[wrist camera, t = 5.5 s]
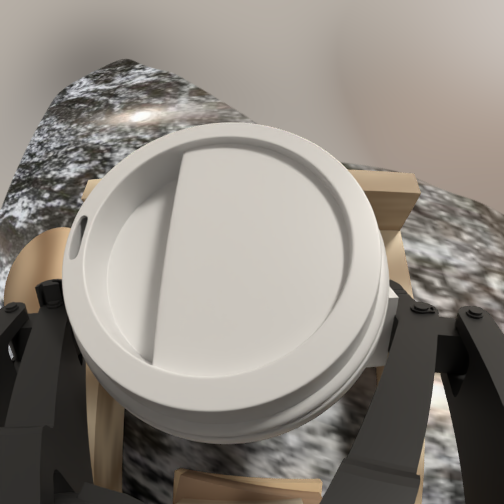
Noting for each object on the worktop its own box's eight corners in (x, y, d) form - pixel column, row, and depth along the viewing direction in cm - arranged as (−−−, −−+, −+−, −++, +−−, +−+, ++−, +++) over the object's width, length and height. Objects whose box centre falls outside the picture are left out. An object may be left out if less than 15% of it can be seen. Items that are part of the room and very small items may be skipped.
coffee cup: (215, 269, 24) (156, 92, 10) (340, 313, 21) (428, 155, 8) (157, 387, 20) (-10, 322, 6) (290, 445, 17) (338, 518, 4)
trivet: (80, 209, 27) (78, 207, 27) (116, 303, 23) (114, 301, 22) (0, 267, 25) (-2, 265, 24) (20, 365, 20) (17, 364, 20)
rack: (130, 242, 25) (88, 180, 18) (379, 241, 24) (414, 173, 17) (104, 520, 14) (40, 548, 7) (392, 532, 13) (444, 572, 6)
